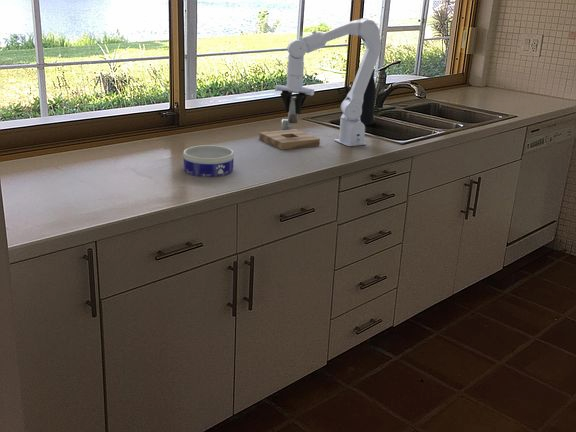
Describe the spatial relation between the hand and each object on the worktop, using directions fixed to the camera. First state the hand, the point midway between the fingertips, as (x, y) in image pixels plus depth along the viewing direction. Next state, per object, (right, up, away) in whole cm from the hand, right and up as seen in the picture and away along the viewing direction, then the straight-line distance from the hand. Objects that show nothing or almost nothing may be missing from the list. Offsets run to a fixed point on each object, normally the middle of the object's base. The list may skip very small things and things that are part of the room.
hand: (293, 112), depth 231 cm
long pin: (0, -3, +1) cm, 3 cm away
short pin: (-3, -5, +17) cm, 17 cm away
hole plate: (-2, -10, +2) cm, 11 cm away
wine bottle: (+30, +2, +38) cm, 49 cm away
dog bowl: (-26, -23, -34) cm, 49 cm away
